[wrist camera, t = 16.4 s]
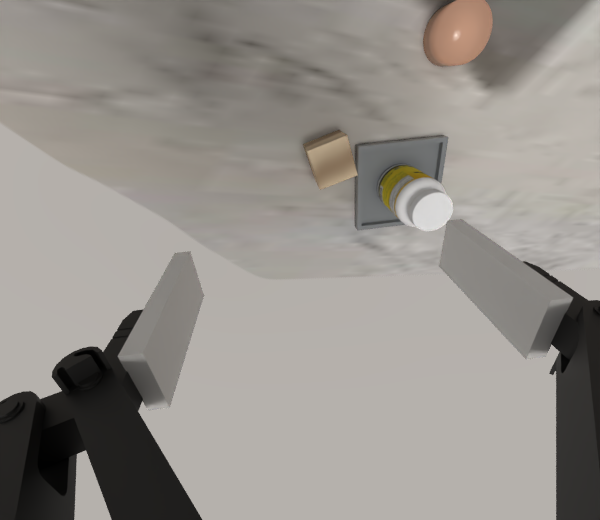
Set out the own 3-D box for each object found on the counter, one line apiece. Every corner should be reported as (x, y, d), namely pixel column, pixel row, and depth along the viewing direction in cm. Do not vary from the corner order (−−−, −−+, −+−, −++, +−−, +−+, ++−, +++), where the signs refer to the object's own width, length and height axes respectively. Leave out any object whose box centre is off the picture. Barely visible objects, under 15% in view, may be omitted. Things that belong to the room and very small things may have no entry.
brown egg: (426, 6, 34) (441, -2, 31) (478, 0, 34) (498, -8, 31) (420, 69, 37) (433, 67, 34) (468, 63, 37) (485, 62, 34)
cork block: (302, 144, 40) (307, 151, 36) (338, 129, 40) (347, 135, 35) (314, 179, 43) (320, 189, 38) (348, 165, 42) (357, 175, 38)
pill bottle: (426, 182, 44) (470, 210, 34) (393, 213, 46) (426, 247, 36) (400, 153, 41) (440, 173, 32) (367, 186, 43) (395, 216, 34)
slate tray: (355, 144, 41) (358, 146, 39) (442, 135, 41) (448, 136, 40) (355, 226, 47) (357, 230, 46) (430, 217, 47) (435, 221, 46)
